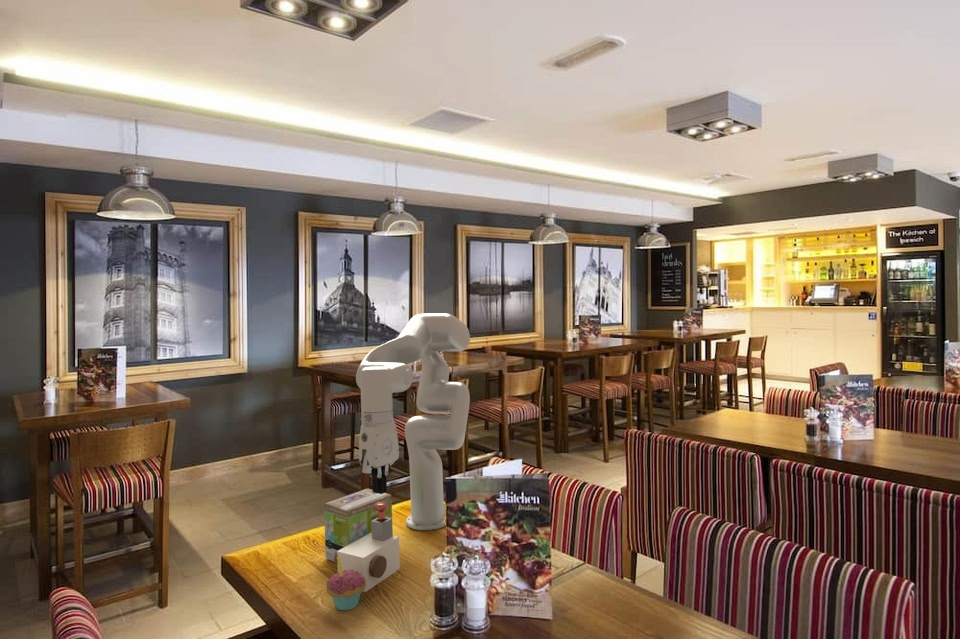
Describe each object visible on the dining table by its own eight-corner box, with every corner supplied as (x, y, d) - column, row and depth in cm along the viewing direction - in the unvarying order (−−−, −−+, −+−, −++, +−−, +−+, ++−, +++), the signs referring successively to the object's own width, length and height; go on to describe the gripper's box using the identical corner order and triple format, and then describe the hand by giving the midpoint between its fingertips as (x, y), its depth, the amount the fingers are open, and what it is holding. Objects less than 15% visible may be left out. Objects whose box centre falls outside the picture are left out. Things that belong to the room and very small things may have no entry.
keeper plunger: (381, 522, 153) (380, 501, 152) (391, 524, 151) (390, 503, 151) (372, 526, 150) (371, 505, 150) (382, 529, 148) (381, 507, 148)
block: (374, 562, 155) (372, 514, 154) (400, 568, 151) (398, 519, 150) (338, 584, 144) (336, 532, 143) (364, 592, 140) (362, 538, 139)
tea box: (350, 569, 152) (348, 510, 151) (324, 559, 158) (322, 502, 157) (394, 547, 164) (392, 493, 163) (368, 539, 170) (366, 486, 169)
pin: (387, 572, 145) (386, 552, 144) (373, 581, 140) (372, 561, 140) (344, 561, 151) (344, 542, 151) (330, 569, 147) (330, 550, 147)
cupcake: (347, 618, 129) (344, 562, 128) (318, 608, 133) (315, 554, 133) (374, 600, 136) (372, 547, 135) (346, 591, 141) (344, 540, 140)
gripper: (368, 424, 141) (371, 504, 141) (408, 413, 153) (410, 486, 154) (344, 422, 144) (346, 499, 145) (384, 411, 157) (387, 482, 158)
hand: (379, 492), depth 150 cm, fingers closed
